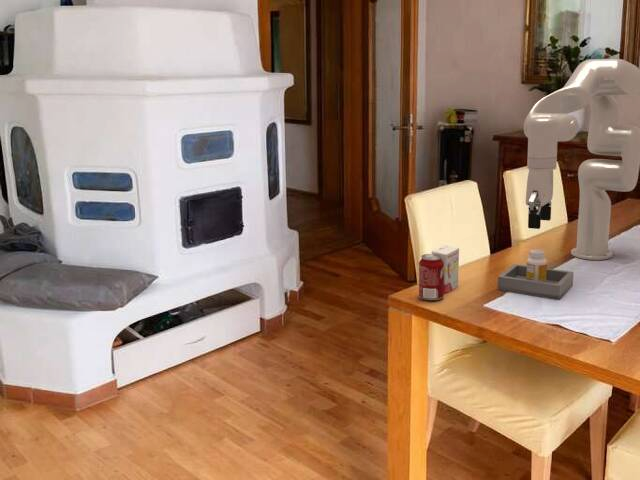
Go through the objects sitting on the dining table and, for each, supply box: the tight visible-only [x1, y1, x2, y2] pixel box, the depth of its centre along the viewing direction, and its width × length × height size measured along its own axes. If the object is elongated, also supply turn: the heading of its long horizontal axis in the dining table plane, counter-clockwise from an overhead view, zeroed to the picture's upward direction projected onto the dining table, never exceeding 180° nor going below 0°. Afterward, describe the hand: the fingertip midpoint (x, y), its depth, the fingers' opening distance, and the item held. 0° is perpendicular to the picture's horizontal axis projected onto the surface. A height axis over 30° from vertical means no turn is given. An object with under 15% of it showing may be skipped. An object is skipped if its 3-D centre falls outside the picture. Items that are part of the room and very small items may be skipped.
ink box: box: [430, 244, 460, 295], centre depth 188 cm, size 9×5×12 cm, turn 142°
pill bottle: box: [526, 249, 548, 282], centre depth 186 cm, size 5×5×10 cm
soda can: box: [418, 253, 445, 301], centre depth 181 cm, size 7×7×12 cm
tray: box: [497, 263, 574, 301], centre depth 187 cm, size 14×17×4 cm
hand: (539, 224), depth 183 cm, fingers open, 9 cm apart
